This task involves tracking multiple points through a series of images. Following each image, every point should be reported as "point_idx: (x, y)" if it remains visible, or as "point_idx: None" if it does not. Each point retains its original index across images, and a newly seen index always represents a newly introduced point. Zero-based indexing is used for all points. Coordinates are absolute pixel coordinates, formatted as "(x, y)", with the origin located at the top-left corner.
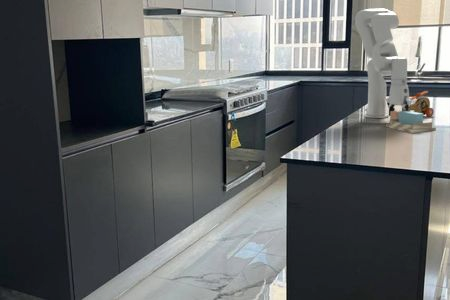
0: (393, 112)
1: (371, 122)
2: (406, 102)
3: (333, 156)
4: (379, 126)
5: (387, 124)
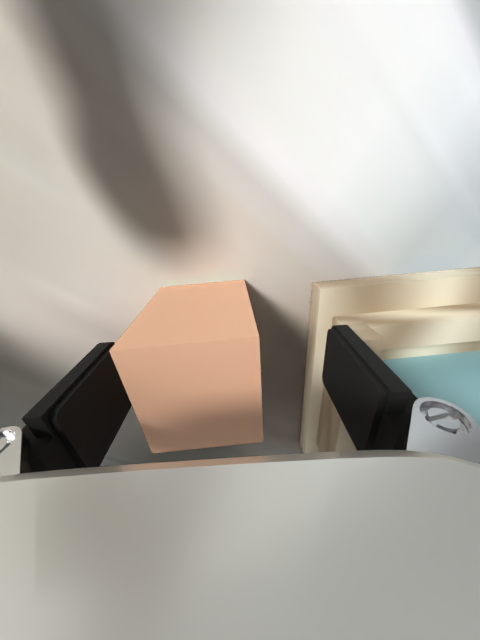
0: (208, 439)
1: (123, 440)
2: (467, 572)
3: None
4: (265, 455)
5: (306, 450)
